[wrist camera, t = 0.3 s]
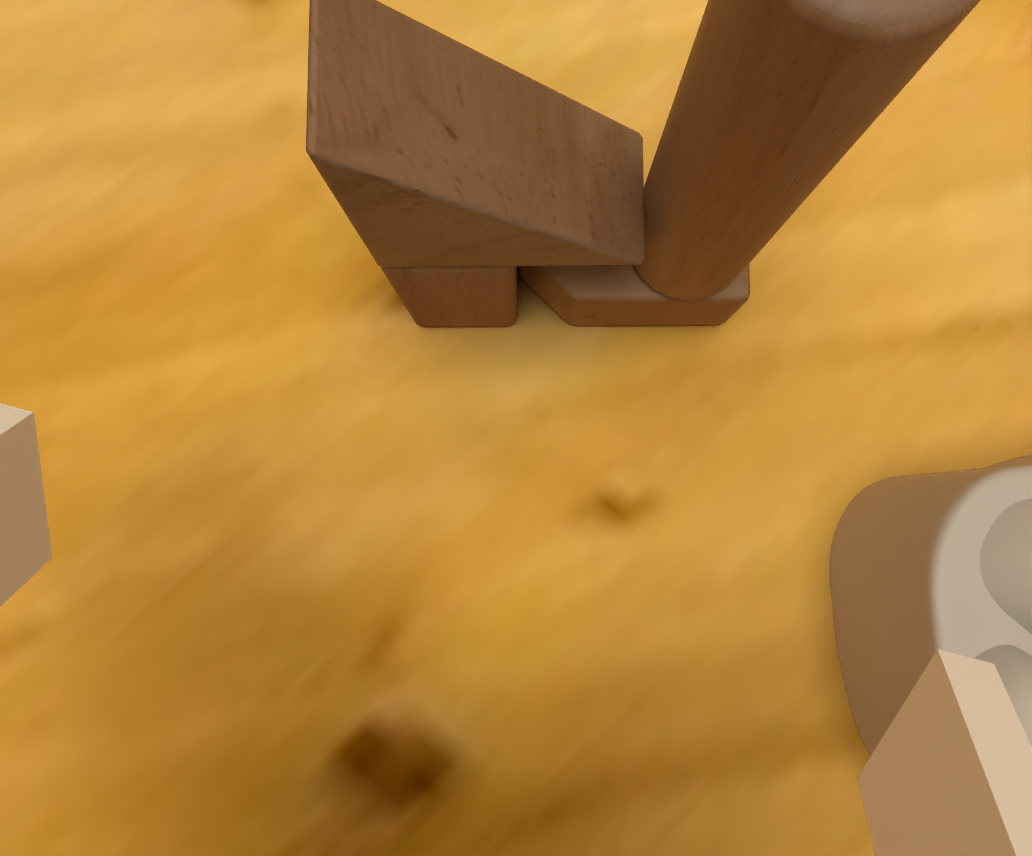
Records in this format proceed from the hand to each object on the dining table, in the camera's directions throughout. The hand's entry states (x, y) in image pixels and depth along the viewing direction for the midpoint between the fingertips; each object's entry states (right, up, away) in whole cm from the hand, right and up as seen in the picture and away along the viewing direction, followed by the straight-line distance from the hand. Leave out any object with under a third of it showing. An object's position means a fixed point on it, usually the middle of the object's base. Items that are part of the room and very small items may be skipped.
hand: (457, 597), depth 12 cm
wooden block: (+3, +8, +17) cm, 19 cm away
